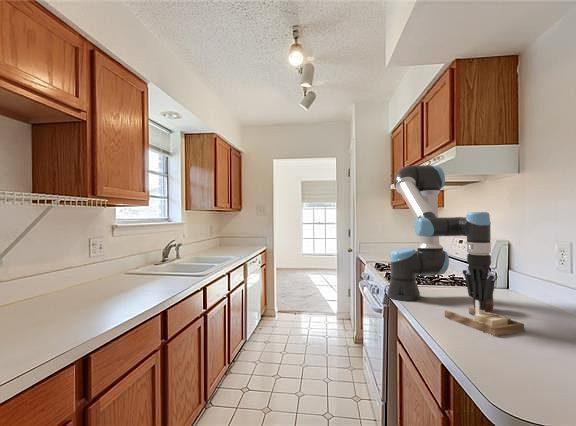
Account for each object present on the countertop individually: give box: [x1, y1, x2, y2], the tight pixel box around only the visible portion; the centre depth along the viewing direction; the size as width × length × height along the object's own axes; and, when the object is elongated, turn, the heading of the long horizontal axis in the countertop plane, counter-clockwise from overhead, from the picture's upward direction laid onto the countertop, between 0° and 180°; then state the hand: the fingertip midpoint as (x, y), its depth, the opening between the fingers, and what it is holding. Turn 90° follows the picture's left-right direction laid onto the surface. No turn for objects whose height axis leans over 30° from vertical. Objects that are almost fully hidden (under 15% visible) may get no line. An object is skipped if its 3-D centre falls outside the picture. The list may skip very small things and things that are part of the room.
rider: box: [474, 312, 508, 327], centre depth 113 cm, size 7×7×4 cm
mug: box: [472, 285, 496, 312], centre depth 132 cm, size 12×9×10 cm
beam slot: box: [444, 306, 525, 337], centre depth 116 cm, size 21×14×3 cm, turn 18°
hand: (480, 317), depth 117 cm, fingers closed
